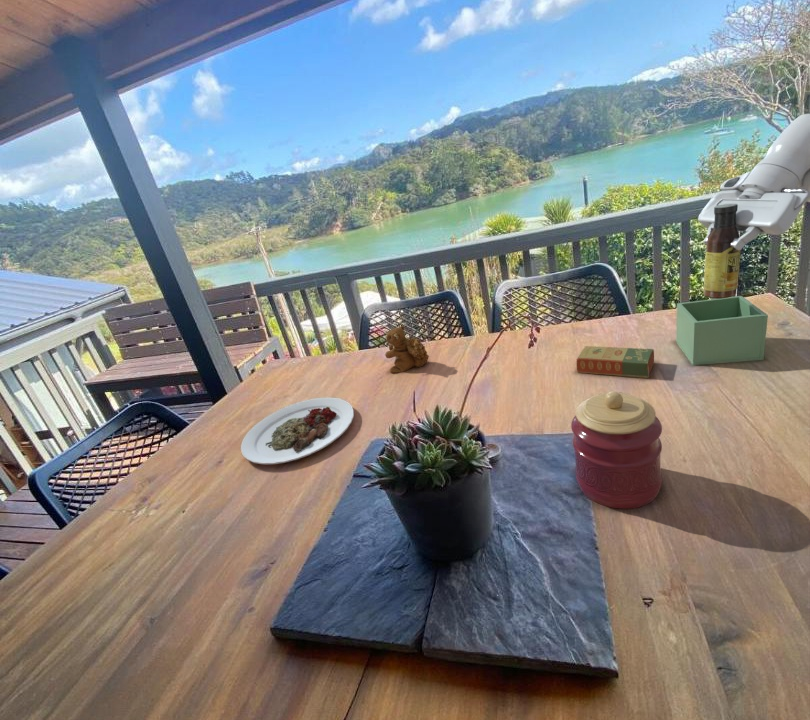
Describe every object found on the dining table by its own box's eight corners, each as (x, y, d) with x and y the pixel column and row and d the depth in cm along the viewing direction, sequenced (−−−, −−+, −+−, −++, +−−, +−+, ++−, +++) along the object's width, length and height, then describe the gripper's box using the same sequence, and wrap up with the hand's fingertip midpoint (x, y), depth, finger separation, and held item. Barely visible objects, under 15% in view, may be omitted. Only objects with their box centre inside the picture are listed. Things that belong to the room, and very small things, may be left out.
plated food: (218, 465, 108) (213, 455, 107) (288, 403, 133) (284, 393, 132) (317, 473, 96) (312, 461, 95) (373, 402, 121) (370, 392, 119)
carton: (586, 359, 116) (585, 344, 114) (654, 363, 106) (654, 347, 104) (577, 373, 110) (575, 358, 108) (648, 379, 100) (648, 362, 98)
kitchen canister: (678, 481, 71) (681, 387, 64) (630, 524, 65) (627, 426, 59) (606, 450, 82) (602, 366, 75) (560, 484, 76) (550, 397, 69)
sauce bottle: (731, 300, 95) (738, 207, 88) (699, 299, 100) (702, 210, 92) (741, 291, 99) (748, 200, 91) (709, 289, 103) (713, 203, 96)
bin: (738, 336, 108) (741, 295, 104) (763, 360, 97) (768, 315, 93) (676, 342, 113) (676, 303, 109) (692, 365, 101) (694, 322, 97)
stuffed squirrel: (399, 359, 145) (389, 322, 140) (437, 358, 138) (429, 320, 133) (384, 373, 137) (374, 335, 132) (424, 373, 130) (415, 333, 125)
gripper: (824, 197, 83) (771, 260, 86) (734, 196, 102) (694, 248, 105) (805, 178, 81) (752, 243, 84) (718, 181, 100) (677, 234, 103)
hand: (719, 246), depth 95 cm, fingers closed on sauce bottle, 6 cm apart
